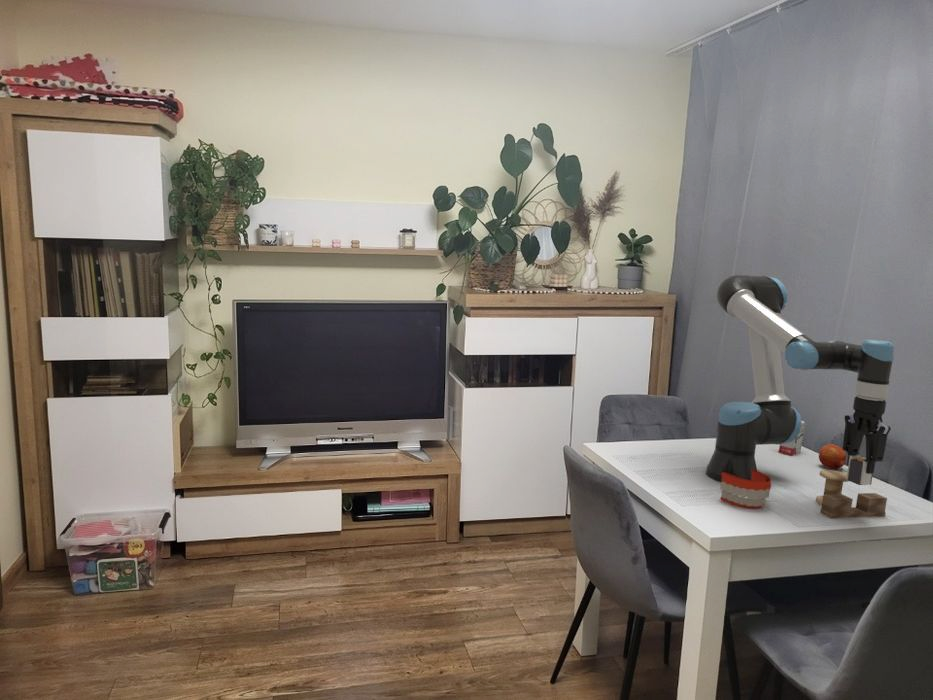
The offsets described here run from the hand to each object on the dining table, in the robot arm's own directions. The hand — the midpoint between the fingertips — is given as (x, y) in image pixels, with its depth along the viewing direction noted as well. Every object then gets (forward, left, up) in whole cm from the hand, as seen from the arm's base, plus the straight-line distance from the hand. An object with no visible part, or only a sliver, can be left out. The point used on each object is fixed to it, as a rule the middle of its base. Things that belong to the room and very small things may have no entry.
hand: (858, 481), depth 195 cm
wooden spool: (0, +8, -10) cm, 13 cm away
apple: (+28, +39, -10) cm, 49 cm away
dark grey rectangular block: (0, 0, 0) cm, 1 cm away
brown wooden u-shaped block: (0, 0, -10) cm, 10 cm away
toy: (-26, +10, -10) cm, 30 cm away
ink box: (+26, +57, -10) cm, 64 cm away
